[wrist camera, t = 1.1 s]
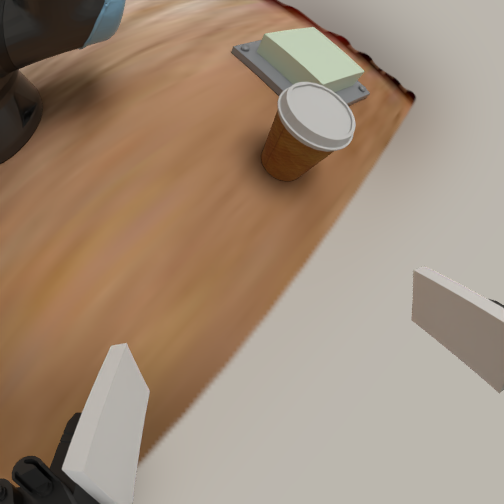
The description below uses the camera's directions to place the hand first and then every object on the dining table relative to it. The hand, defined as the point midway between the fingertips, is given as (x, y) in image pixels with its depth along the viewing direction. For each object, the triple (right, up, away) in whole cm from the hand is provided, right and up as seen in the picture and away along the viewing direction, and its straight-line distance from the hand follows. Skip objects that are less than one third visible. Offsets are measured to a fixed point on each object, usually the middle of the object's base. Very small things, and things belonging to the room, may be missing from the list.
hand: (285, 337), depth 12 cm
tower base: (+8, +37, +36) cm, 52 cm away
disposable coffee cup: (+3, +16, +28) cm, 33 cm away
